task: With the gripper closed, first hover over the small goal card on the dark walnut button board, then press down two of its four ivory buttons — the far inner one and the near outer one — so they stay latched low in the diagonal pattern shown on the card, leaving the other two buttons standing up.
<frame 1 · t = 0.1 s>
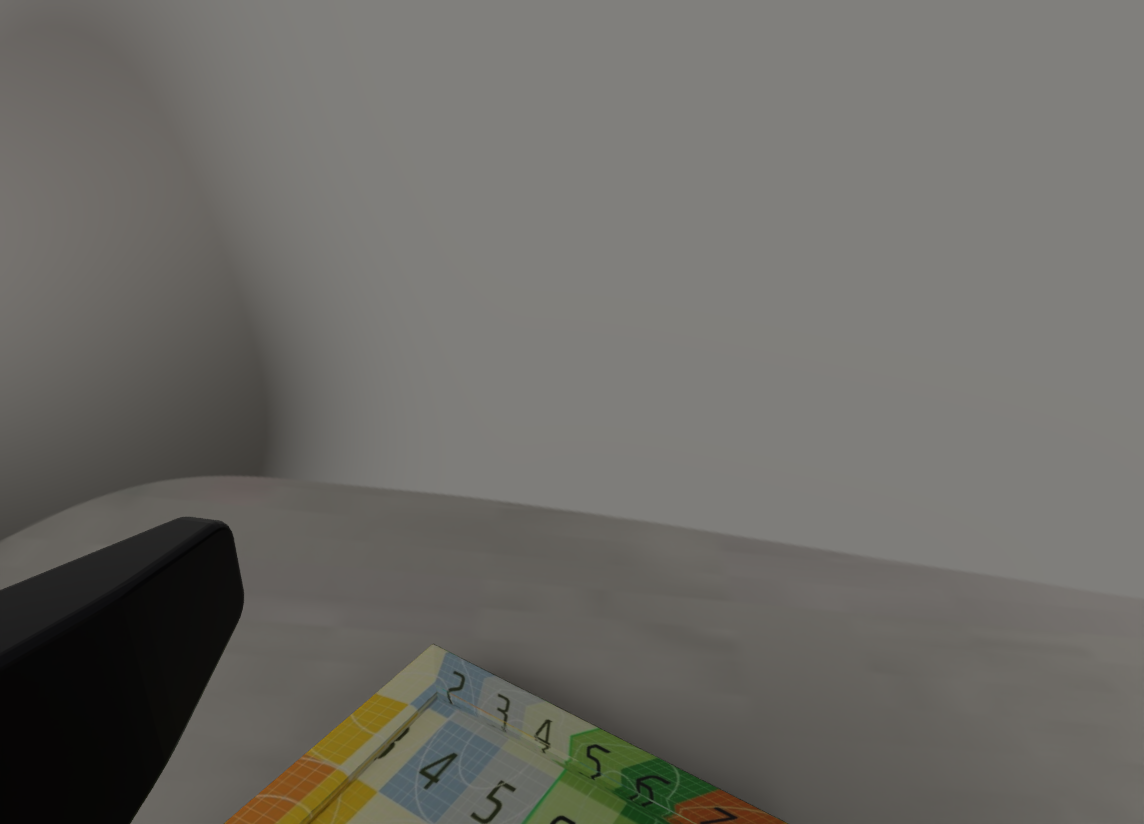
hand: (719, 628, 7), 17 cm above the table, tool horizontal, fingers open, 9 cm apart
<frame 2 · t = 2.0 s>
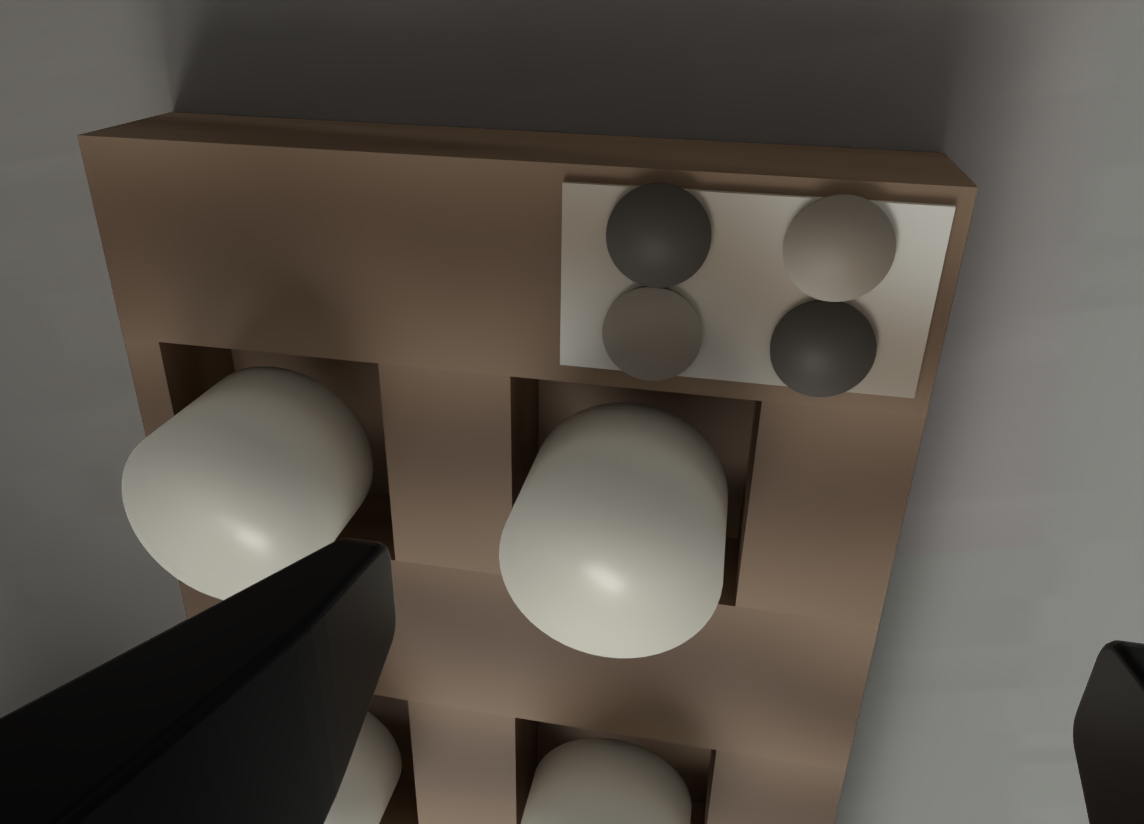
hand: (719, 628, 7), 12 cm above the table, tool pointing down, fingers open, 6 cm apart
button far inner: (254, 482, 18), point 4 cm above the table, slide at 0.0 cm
button board: (531, 570, 23), on the table
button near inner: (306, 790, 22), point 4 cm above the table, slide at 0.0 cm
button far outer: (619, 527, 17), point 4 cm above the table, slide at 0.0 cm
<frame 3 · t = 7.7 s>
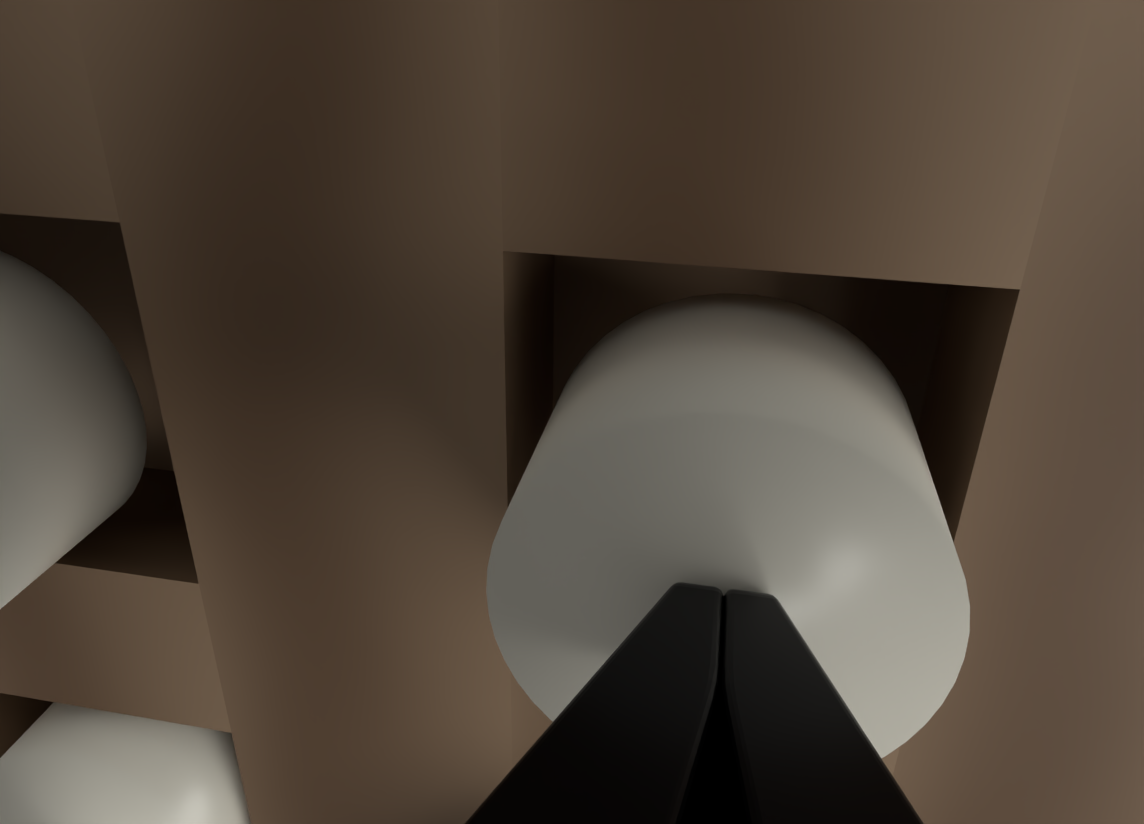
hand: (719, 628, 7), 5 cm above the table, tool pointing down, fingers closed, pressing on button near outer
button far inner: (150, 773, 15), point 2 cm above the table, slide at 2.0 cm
button board: (428, 500, 14), on the table
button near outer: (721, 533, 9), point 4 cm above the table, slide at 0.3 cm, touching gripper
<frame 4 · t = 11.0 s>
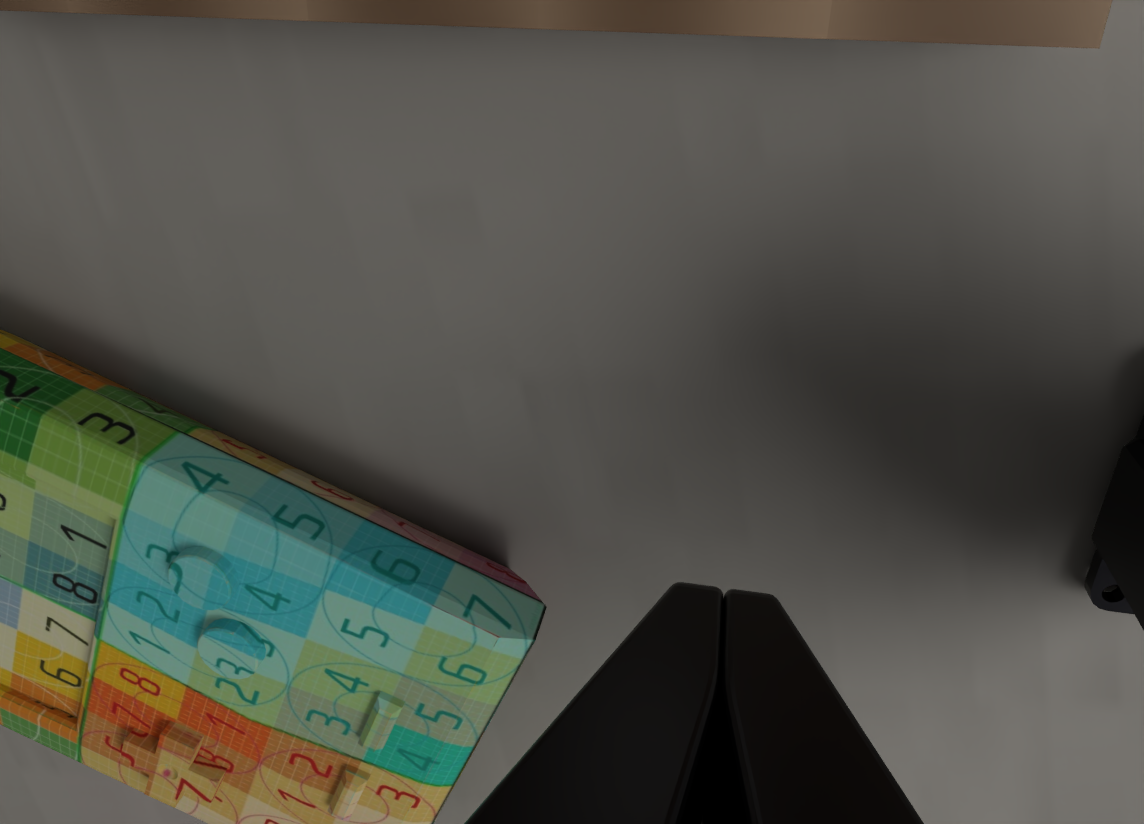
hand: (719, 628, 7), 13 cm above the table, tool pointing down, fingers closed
puzzle game: (196, 540, 27), on the table
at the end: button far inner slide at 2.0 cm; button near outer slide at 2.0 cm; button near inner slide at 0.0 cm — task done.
